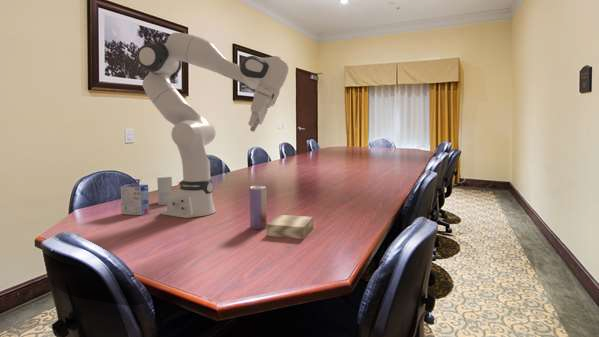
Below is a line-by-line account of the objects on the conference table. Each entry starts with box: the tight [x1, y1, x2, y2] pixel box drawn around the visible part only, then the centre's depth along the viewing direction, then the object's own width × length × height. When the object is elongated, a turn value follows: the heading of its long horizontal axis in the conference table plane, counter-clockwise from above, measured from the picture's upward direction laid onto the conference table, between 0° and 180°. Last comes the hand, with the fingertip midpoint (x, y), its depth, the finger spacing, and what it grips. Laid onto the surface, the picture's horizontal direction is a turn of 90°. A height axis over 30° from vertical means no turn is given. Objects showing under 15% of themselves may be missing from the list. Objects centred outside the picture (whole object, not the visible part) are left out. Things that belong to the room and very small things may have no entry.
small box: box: [156, 174, 173, 206], centre depth 172 cm, size 8×6×13 cm
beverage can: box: [249, 185, 268, 230], centre depth 132 cm, size 6×6×15 cm
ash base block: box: [266, 214, 314, 240], centre depth 127 cm, size 13×13×4 cm
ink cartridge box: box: [120, 178, 150, 216], centre depth 153 cm, size 10×6×14 cm, turn 79°
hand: (251, 128), depth 139 cm, fingers open, 8 cm apart
